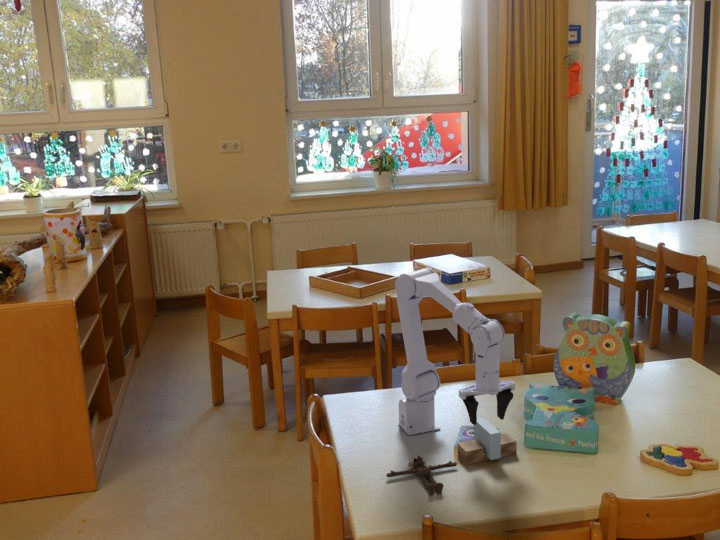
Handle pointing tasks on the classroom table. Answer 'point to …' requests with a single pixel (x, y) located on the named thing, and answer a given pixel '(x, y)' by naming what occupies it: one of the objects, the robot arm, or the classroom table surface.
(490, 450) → the pale grey-blue block
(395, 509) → the classroom table surface
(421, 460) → the brown monkey toy
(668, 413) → the classroom table surface
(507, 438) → the brown u-shaped block
